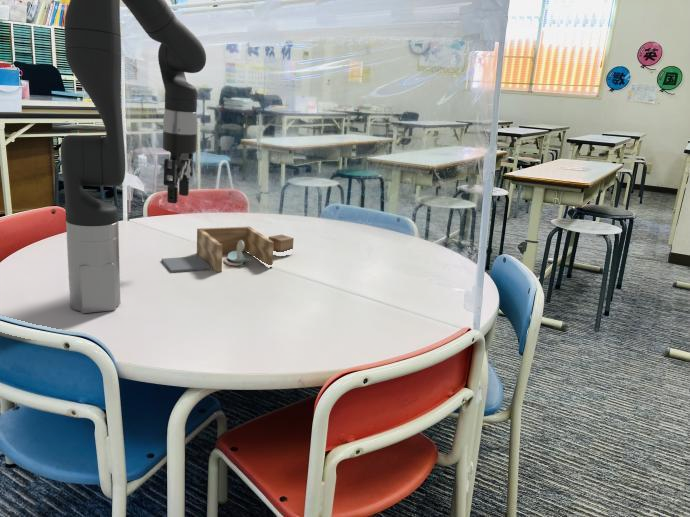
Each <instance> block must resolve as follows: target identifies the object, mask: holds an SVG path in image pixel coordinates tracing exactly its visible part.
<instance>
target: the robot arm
mask: <svg viewBox="0 0 690 517" xmlns="http://www.w3.org/2000/svg"><path fill="white" fill-rule="evenodd" d="M120 1H122V3H123V4H124V5H125V6H126V8H127V9H128V10H129V12H130V13H131V14H132V15H133V17H134V19H135V20H136V21H137V23H138V24H139V25H140V26H141V28H142V29H143V31H144V32H145V33H146V35H148V37H149V38H151V40H153V41H155V42H158V43H160V45H159V47H158V54H157V58H158V59H157V60H158V66H159V69H160V70H159V71H160V75H161V79H162V83H163V88H164V111H163V112H164V114H163V118H162V119H163V121H162V124H163V126H162V149H163V151H166V152H168V153H169V154H170V155H169V158H165V159H164V164H163V165H164V166H163V186H166V187H167V199H166V201H167V203H169V204H177V203H178V202H179V195H180V196H183V197H187V196H189V194H190V192H189V191H190V180H191V177H193V175H194V168H193V167H194V153H197V147H198V146H197V145H198V144H197V142H198V140H197V139H198V115H197V114H198V112H197V111H198V109H197V107H198V91H197V90H198V89H197V88H196V87H195V85H193V84H191V83H189V82H188V81H187V79H186V73H187V74H196V73H199V72H201V71H202V70H203V69H204V68H205V65H206V63H207V53H206V50H205V47H204V46H203V44H202V42H201V41H200V40H199V39H198V37H197V36H196V35H195V33H193V32H192V31H191V30H190V29H189V28H188V27H187V26H186V25H185V24H184V23H183V22H181V20H180V19H178V17H176V14H175V13H174V12H173V10H172V9H171V6H170V5H169V4H168V3H167V1H166V0H70V1H69V2H68V5H67V9H66V12H65V16H64V49H65V50H64V51H65V58H66V63H67V64H68V67H69V68H70V70H71V72H72V73H73V75H74V77H75V78H76V80H77V82H78V83H79V84H80V85H81V87H82V88H83V90H84V91H85V92H86V94H87V95H88V96H89V98H90V99H91V101H92V103H93V105H94V107H95V109H96V111H97V112H98V114H99V116H100V118H101V120H102V123H103V126H104V129H105V136H93V135H78V134H77V135H76V134H75V135H74V134H72V135H71V134H69V135H68V134H67V135H66V136H64V137H63V139H62V141H61V144H60V160H61V161H60V163H61V171H62V172H61V173H62V178H63V186H64V187H63V189H64V202H65V204H64V206H65V207H64V208H65V227H66V248H67V250H66V251H67V269H68V287H69V305H70V307H71V309H73V310H75V311H78V312H80V313H81V314H90V313H91V314H92V313H97V312H98V313H99V312H107V311H108V312H109V311H116V310H117V307H119V306H120V304H121V280H120V278H121V276H120V273H121V272H120V270H121V268H120V266H121V265H120V231H119V228H120V226H119V224H120V223H119V209H118V208H117V206H116V205H114V204H113V203H110V202H107V201H104V200H103V199H98V198H96V197H94V196H93V195H92V194H90V193H88V192H87V191H86V190H85V189H84V188H83V187H86V186H87V187H88V186H89V187H119V186H122V184H123V183H124V181H125V177H126V150H125V149H126V148H125V137H124V136H125V135H124V127H123V126H124V124H123V113H122V35H121V32H122V31H121V2H120Z"/></svg>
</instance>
